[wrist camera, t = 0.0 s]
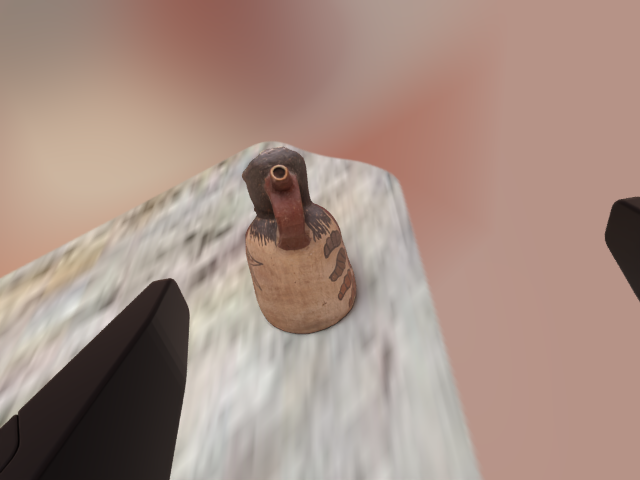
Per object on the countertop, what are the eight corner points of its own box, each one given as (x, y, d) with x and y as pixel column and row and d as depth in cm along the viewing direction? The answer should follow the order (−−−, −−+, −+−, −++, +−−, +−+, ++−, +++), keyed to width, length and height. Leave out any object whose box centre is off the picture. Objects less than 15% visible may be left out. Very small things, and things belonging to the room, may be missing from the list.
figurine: (348, 259, 35) (323, 116, 28) (366, 324, 30) (341, 164, 22) (261, 277, 35) (214, 139, 28) (262, 345, 30) (204, 193, 22)
